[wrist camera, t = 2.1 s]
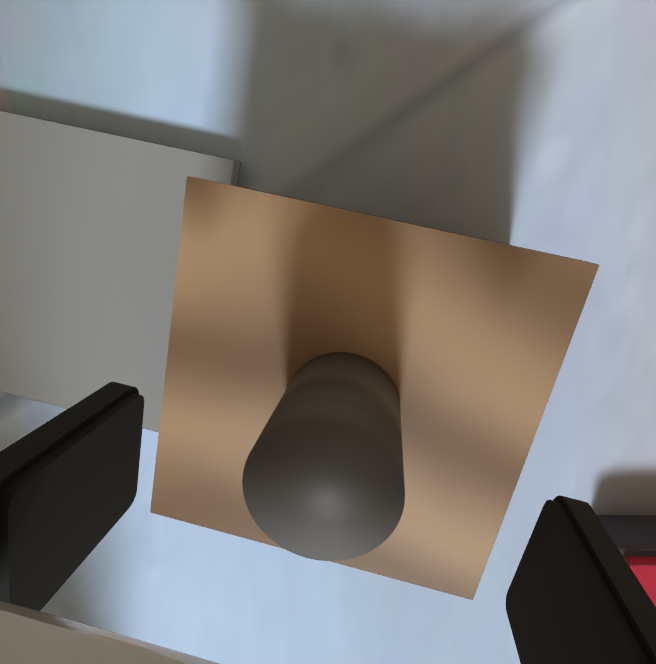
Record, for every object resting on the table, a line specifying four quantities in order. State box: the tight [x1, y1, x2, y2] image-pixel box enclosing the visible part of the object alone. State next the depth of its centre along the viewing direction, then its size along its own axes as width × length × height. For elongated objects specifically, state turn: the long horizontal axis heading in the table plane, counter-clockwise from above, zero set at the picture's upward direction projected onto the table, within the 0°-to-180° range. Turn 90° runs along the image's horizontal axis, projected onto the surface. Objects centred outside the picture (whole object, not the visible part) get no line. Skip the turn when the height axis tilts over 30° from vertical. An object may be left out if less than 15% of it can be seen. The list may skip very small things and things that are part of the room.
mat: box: [0, 111, 241, 432], centre depth 24 cm, size 15×15×1 cm
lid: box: [150, 176, 599, 600], centre depth 14 cm, size 13×13×7 cm
